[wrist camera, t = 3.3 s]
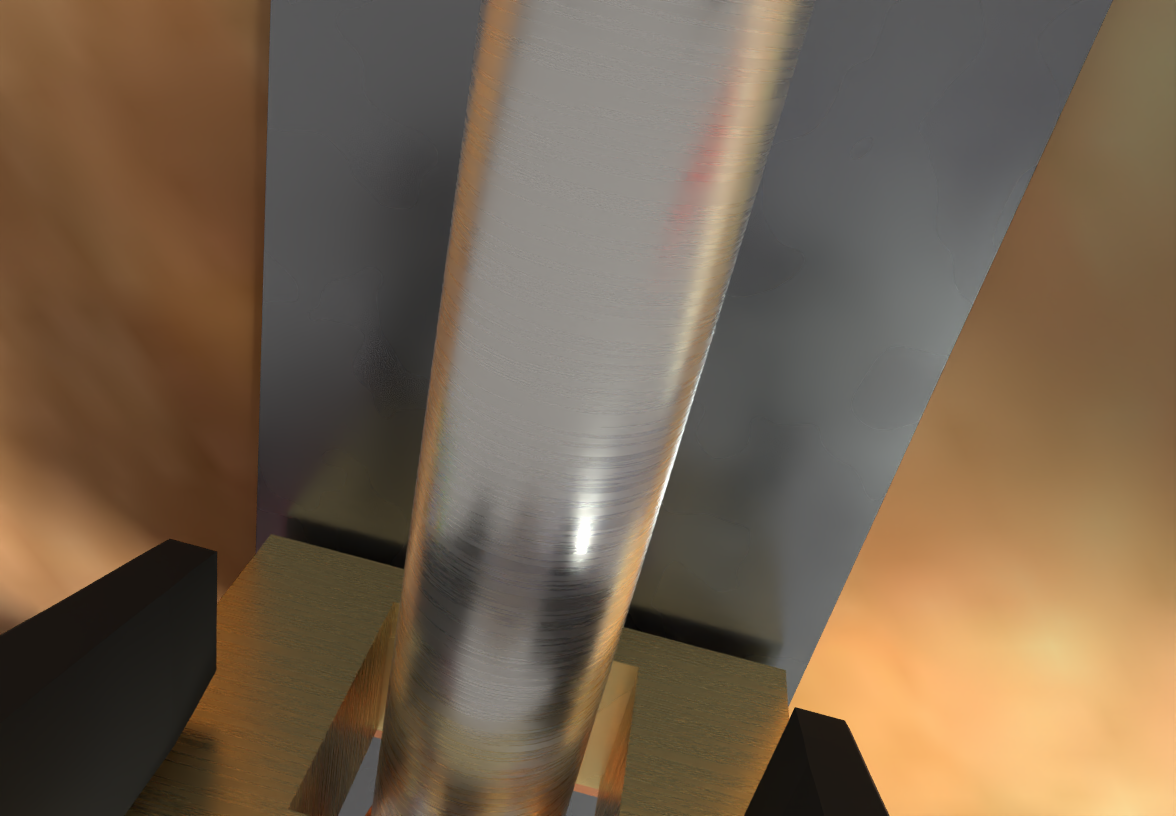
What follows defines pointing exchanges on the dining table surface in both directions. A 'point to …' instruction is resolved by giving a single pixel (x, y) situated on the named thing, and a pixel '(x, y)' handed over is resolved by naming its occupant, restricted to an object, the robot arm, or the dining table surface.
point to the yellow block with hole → (359, 692)
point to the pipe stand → (617, 328)
